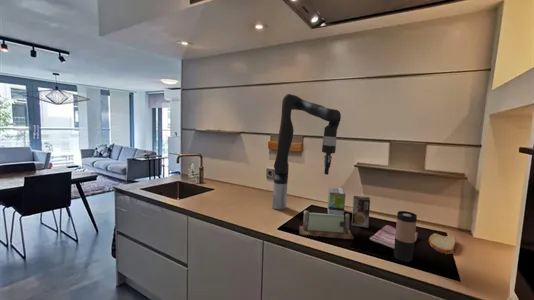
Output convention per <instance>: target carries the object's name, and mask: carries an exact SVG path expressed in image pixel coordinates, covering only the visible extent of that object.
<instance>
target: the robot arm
mask: <svg viewBox="0 0 534 300" xmlns="http://www.w3.org/2000/svg"><path fill="white" fill-rule="evenodd" d="M292 110H295V111H301V112H305V113H307V114H308V115H311V116H314V117H316V118H319V119H322V120H323V121H326V122H328V125H326V126H325V127H324V130H323V131H324V132H323V138H322V147H321V153H325V155H323V158H324V159H323V162H324V164H323V165H324V175H329V172H330V168H331V164H332V160H333V157H332V154H335V153H336V150H337V149H336V148H337V134H338V133H337V132H338V127H339V125H340V122H341V119H342V114H341V111H340V110H338V109H336V108H335V109H334V108H328V107H325V106H323V105H321V104H318V103H315V102H309V101H307V100H304V99H303V98H301V97H300V96H297V95H295V94H291V93H287V94H285V95H284V96H283V97H282V101H281V117H280V125H279V131H278V139H277V151H276V155H275V160H274V164H273V170H274V175H273V190H272V193H273V194H272V204H271V205H272V207H271V209H275V210H279V211H281V210H286V209H287V201H288V200H287V199H288V182H289V167H290V166H289V152H290V149H291V146H292V142H293V138H294V132H295V131H294V125H293V122H292V117H291V115H292Z"/></svg>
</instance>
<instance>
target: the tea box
mask: <svg viewBox="0 0 534 300" xmlns="http://www.w3.org/2000/svg"><path fill="white" fill-rule="evenodd" d="M345 204H346V192H345V189H344V188H341V187H330V186H329V187H328V197H327V214H336V215H344V216H345Z"/></svg>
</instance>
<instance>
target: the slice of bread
mask: <svg viewBox="0 0 534 300" xmlns="http://www.w3.org/2000/svg"><path fill="white" fill-rule="evenodd" d="M428 243H429V245H430V247H432V248H433V249H434V250H435V251H437V252H439V253H441V254H444V253H445V254H444V255H447V254H452V253H454V252H455V251H456V249H457V245H458V243H457V240H456V237H455V236H452V235H451V236H449V235H447V236H445V235H442V234H439V233H432V234H431V235H430V236H429V238H428ZM454 254H455V253H454Z"/></svg>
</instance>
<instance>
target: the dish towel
mask: <svg viewBox="0 0 534 300" xmlns="http://www.w3.org/2000/svg"><path fill="white" fill-rule="evenodd" d="M395 232H396V227H393V226H391V225H389V224H387V225H385V226H383V227H382V228H381V229H379V230H378V231H377V232H376V233H374V234H373V235H372V236H370V237H369V240H370V241H372V242H374V243H376V244H380V245H383V246H385V247H387V248H389V249H390V248H391V249H393V250H394V245H395ZM418 236H419V234H418V232H417V231H416V232H415V242H416V241H417V239H418Z"/></svg>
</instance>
